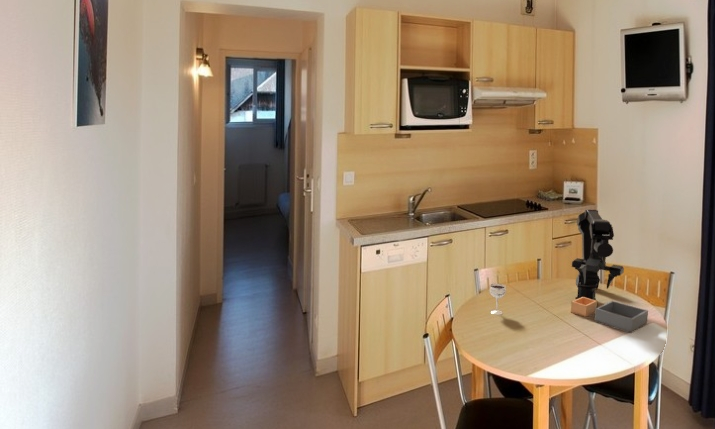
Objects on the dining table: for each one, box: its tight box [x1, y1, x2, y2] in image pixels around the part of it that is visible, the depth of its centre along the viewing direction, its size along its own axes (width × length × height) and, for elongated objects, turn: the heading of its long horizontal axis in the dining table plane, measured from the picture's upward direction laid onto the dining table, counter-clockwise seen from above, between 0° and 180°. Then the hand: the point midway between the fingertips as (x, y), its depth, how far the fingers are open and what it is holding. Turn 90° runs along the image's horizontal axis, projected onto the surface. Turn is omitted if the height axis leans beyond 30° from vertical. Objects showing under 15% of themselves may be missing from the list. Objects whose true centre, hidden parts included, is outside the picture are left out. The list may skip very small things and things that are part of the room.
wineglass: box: [489, 283, 507, 315], centre depth 196 cm, size 7×7×12 cm
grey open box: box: [594, 300, 649, 334], centre depth 184 cm, size 14×14×6 cm
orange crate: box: [570, 297, 598, 318], centre depth 195 cm, size 6×9×5 cm
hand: (595, 286), depth 192 cm, fingers open, 9 cm apart
